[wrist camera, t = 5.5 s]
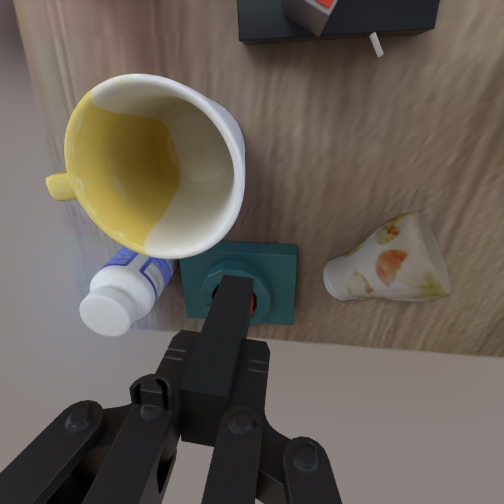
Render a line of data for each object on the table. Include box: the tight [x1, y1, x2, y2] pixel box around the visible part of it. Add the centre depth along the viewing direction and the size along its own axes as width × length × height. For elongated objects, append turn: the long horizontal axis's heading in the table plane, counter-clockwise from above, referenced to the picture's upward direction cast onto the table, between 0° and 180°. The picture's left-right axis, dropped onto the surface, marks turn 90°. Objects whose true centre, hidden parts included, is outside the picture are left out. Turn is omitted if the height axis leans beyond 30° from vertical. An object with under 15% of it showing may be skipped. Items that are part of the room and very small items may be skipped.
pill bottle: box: [80, 247, 178, 337], centre depth 28 cm, size 5×5×10 cm
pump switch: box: [179, 241, 297, 326], centre depth 31 cm, size 11×8×4 cm
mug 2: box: [323, 211, 451, 303], centre depth 26 cm, size 8×10×10 cm
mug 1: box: [46, 74, 245, 259], centre depth 22 cm, size 14×10×10 cm
